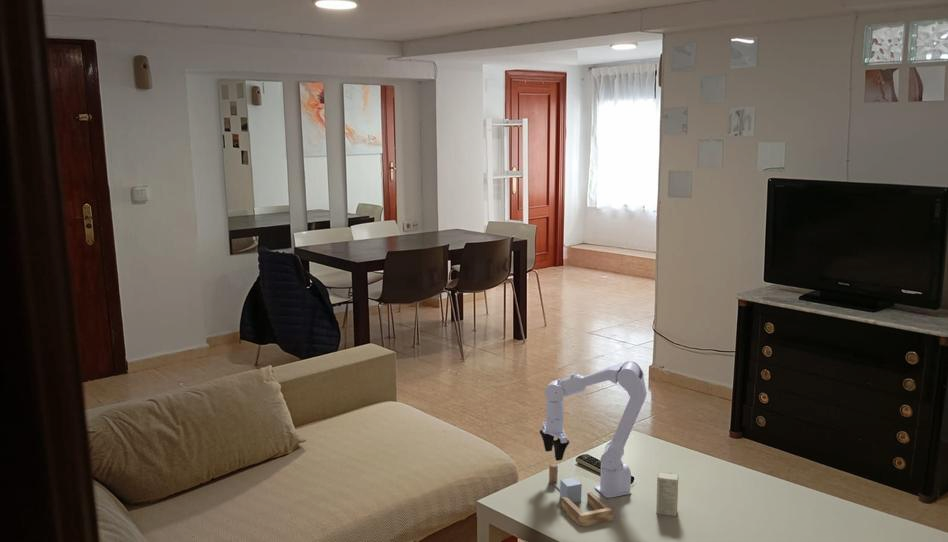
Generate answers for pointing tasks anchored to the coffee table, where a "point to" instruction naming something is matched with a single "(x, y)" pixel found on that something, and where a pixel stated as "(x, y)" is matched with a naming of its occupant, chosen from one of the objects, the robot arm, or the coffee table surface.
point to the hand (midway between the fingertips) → (553, 455)
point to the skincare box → (667, 493)
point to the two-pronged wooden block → (591, 517)
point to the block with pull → (565, 485)
